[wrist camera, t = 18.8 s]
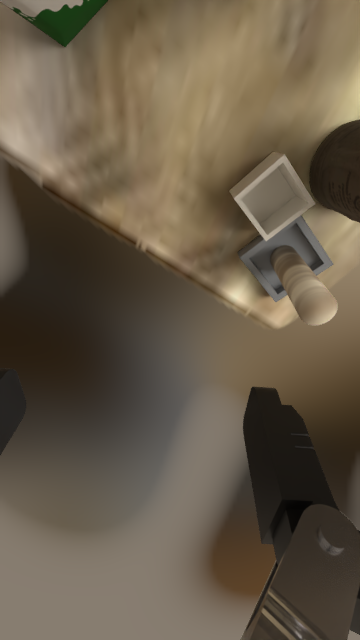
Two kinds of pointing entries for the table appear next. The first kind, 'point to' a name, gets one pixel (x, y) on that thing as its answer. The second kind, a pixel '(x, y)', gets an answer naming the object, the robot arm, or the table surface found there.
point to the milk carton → (57, 15)
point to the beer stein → (338, 171)
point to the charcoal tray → (291, 235)
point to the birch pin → (303, 287)
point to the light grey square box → (272, 195)
